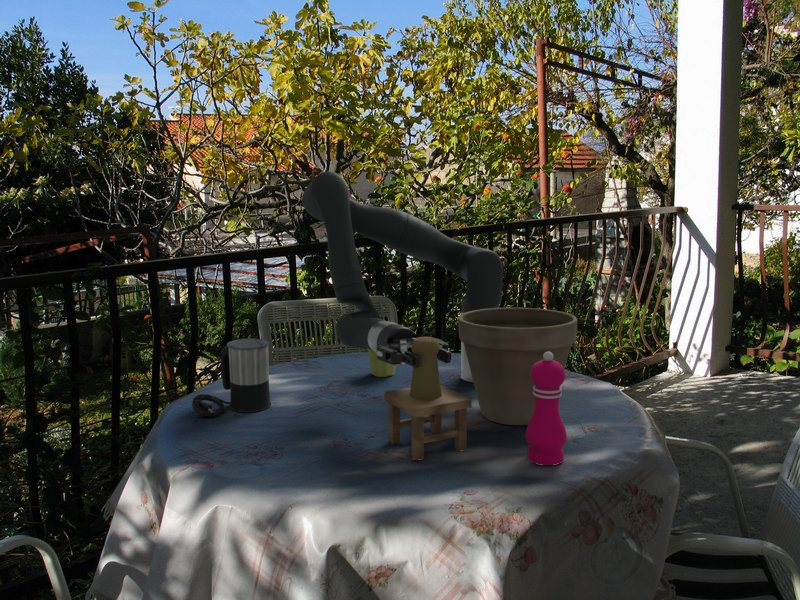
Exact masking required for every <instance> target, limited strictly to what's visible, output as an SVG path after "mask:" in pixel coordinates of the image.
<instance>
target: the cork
mask: <svg viewBox="0 0 800 600" xmlns="http://www.w3.org/2000/svg"><path fill="white" fill-rule="evenodd" d="M435 338H436V337H430V336H419V337H418V338H416V339H414V341H413V342H412V346H411V347H412V352H413V353H414V354H416V355H418V356H419V367H416V368H414V367H412V373H411V383H410V387H411V389H410V396H411V397H412V398H415V399H420V400H431V399H436V398H439V397H441V396H442V392H441V379H440V378H441V377H440V372H439V370H440V369H439V362H438V359H437V354H438V352H439V342H438V341H437V339H438V338H437V339H435Z"/></svg>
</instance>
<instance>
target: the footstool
mask: <svg viewBox="0 0 800 600" xmlns="http://www.w3.org/2000/svg"><path fill="white" fill-rule="evenodd" d="M440 384H441V383H440ZM410 389H411V386H410V387H404V388H399V389H393V390H392V389H391V390H387V391H384V392H383V394H384V395H383V396H384V397H383V398H384V401H386V402H388V441H389V442H388V443H390V442H391V443H390V444H391V445H397V444H401V429H402V428H408V427H410V428H411V429H410V430H411V459H412V458H414V459H415V460H418V459H422V458H425V457H424V456H425V455H424V453H425V449H424V447H425V446H424V444H428V443H431V442H433V443H434V442H436V441H437V442H438V441H443V440H448V439H452V438H454V449H455V448H456V449H457V450H459V451H460V452H462V451H461V450H465V449H467V446H468V444H467V443H468V442H467V440H468V439H467V438H468V436H467V434H468V433H467V432H468V430H467V426H468V425H467V424H468V420H467V419H468V417H467V415H468V414H467V412H468V411H467V410H468V409H469V408H472V398H469V397H468V396H466V395H463V394H462V393H461V392H460V393H459V392H458V391H456V390H454V389H452V388H450V387H447V386H445V385H444V384H441V392H442V396H441V397H439V398H436V399H431V400H420V399H415V398H412V397H411V396H410ZM401 411H402V412H404V413H405V414H407V415H409V416H410V417H409V418H404V419H401ZM448 412H454V428H450V429H447V430H446V429H445V430H442V414H443V413H448ZM428 423H429V426H430V427H429V429H430V430H429V433H427V434H424V428H425V427H424V424H428ZM430 433H431V434H430ZM396 443H397V444H396ZM456 449H455V450H456ZM457 450H456V451H457ZM459 451H458V452H459ZM465 451H466V450H465ZM414 459H413V460H414ZM415 460H414V461H415Z"/></svg>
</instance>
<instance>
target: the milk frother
mask: <svg viewBox="0 0 800 600" xmlns="http://www.w3.org/2000/svg"><path fill="white" fill-rule="evenodd" d="M269 345H270V341H269V340H267V339H262V338H239V339H235V340H231V341H229V342H227V343H226V346H223V348H222V349H221V350H220V354H219V357H220V367H221V378H222V387H223V389H224V390H225V391H229V390H230V401H229V402H228V401H225V400H223V399H221V398H219V397H217V396H213V395H210V394H198V395H195V397H193V399H192V401H191V407H192V410H193V411H195V412H196V413H197V414H199V415H201V416H203V417H214V416H215V417H216V416H218V415H221V414H222V413H224V411H225V404H227V405H229V409H230V410H232V411H233V412H237V413H239V412H240V413H255V412H256V413H257V412H260V411H261V412H262V411H264V410H267V409H268V408H270V407H271V406H272V402H271V395H270V379H269V378H270V377H269V376H270V372H269V371H270V368H269V367H270V366H269V362H270V361H269V360H270V359H269ZM204 401H208V402H212V403H213V404H216V405H217V406H218V408H217V409H216V410H215V409H214V410H212V408H213V405H212V404H209V403H207V402H204Z"/></svg>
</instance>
